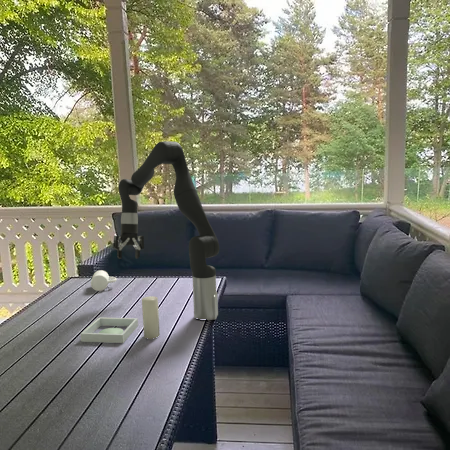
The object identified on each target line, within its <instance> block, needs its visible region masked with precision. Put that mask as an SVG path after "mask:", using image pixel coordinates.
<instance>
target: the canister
mask: <svg viewBox="0 0 450 450" xmlns="http://www.w3.org/2000/svg"><path fill="white" fill-rule="evenodd" d="M141 308H142V325H143V338H144V339H146V338H148V339H147V340H154V339H153V338H155V339H157V338H156V337H158V336H159V335H161V334H160V331H161V330H160V317H159V316H160V315H159V298H158V297H157V296H153V295H151V296H150V295H149V296H144V297H142V299H141ZM159 337H160V336H159ZM159 337H158V338H159Z"/></svg>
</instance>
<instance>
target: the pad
mask: <svg viewBox="0 0 450 450" xmlns="http://www.w3.org/2000/svg"><path fill="white" fill-rule="evenodd" d="M123 332H124V330H123V328H120V327H109V328H103V330H100V331H99V332H98V333H105V334H122V333H123Z"/></svg>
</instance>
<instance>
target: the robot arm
mask: <svg viewBox="0 0 450 450" xmlns="http://www.w3.org/2000/svg"><path fill="white" fill-rule="evenodd" d="M160 165H171V166H172V168H173V171H174V173H175V183H174V187H173V197H174V199H175V203H176V205H177V208H178V210H179V212H180V213H181V214H182V215H183V216H184V217H186V219H187V220H189V221H190V222H191V223H192V225H194V227H195V228H196V229H197V230H196V231H197V232H198V235H195V236H193V237H191V238H190V240H189V241H188V255H189V268H190V270H191V275H192V277H191V278H192V296H193V297H192V298H193V301H192V302H193V318H194V317H195V318H198V319H207V320H208V321H213V320H217V317H218V316H219V308H218V307H219V304H218V302H219V301H218V300H219V299H218V292H217V278H216V277H217V276H216V272H217V271H216V267H214V266H212V265H208V264H207V259H209V258H213V257H216V256H217V255H218V254H219V252H220V244H219V239H218V237H217V235H216V233H215V231H214V229H213V227H212V226H211V224H210V222H209V220H208V217H207V215H206V212H205V210H204V206H203V205H202V202H201V200H200V196H199V194H198V191H197V189H196V187H195V184H194V181H193V178H192V175H191V173H190V169H189V166H188V163H187V159H186V155H185V152H184V149H183V147H182V146H181V144H180V143H179V142H178V141H169V140H167V141H166V140H162V141H158V142H157V143H156V144H155V145H154V146H153V148H152V149H151V151H150V152H149V154H148V156H147V157H146V159H145V160H144V161H143V163H142V164H141V165H140V167H138V168H137V169H136V170H135V172H133V173H132V174H131V176H130V179H127V178H124V179H121V180H120V181H119V183H118V187H117V188H118V193H119V197H120V200H121V201H120V202H121V216H120V235H114V236H113V244H112V245H113V246H112V248H113V250H116V256H117V259H119V260H120V259H121V260H122V256H123V254H122V253H123V251H122V250H123V248H124V247H125V246H133V247H134V249H135V251H134V252H135V253H134V256H135V259H136V260H137V259H140V257H141V256H140V255H141V250H144V249H145V237H144V236H143V235H139V236H138V233H139V232H138V231H139V223H138V222H139V216H138V207H139V206H138V202H137V201H136V200H134V199H131V197H130V196H138V195H140V194H141V193H142V192H143V189H144V187H145V185H147V183H148V182H150V180H152V179H153V177H154V175H155V169H156V168H157V167H158V166H160ZM119 241H120V242H119ZM137 241H138V242H137ZM195 318H194V319H195Z"/></svg>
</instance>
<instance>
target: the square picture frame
mask: <svg viewBox="0 0 450 450" xmlns="http://www.w3.org/2000/svg"><path fill="white" fill-rule="evenodd" d="M101 326H102V327H103V326H104V327H126V329H124V330H123V333H122V334H105V333H99V332H96V331H97V330H98V329H99V328H100V327H101ZM138 327H139V318H137V317H136V318H135V317H134V318H132V317H131V318H130V317H129V318H127V317H98V318H96V319H95V320H94V322H92V323H91V324H90V325H89V326H88V327H86V328H85V329H84V330H83V331H82V332H80V342H82V343H106V344H108V343H109V344H110V343H111V344H112V343H113V344H124V343H125V342H126V340H128V338H129V337H130V336H131V335H132V334H133V333H134V332H135V330H136V329H137V328H138Z"/></svg>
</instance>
